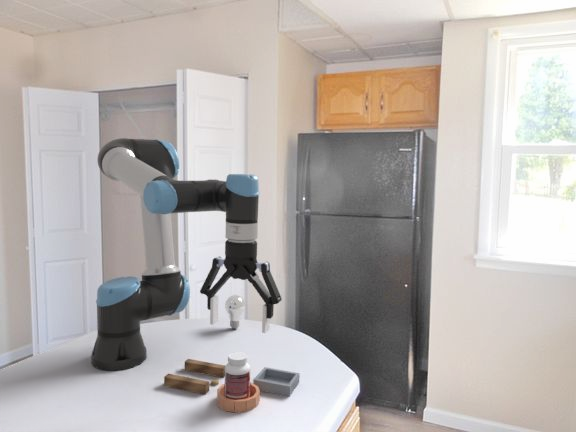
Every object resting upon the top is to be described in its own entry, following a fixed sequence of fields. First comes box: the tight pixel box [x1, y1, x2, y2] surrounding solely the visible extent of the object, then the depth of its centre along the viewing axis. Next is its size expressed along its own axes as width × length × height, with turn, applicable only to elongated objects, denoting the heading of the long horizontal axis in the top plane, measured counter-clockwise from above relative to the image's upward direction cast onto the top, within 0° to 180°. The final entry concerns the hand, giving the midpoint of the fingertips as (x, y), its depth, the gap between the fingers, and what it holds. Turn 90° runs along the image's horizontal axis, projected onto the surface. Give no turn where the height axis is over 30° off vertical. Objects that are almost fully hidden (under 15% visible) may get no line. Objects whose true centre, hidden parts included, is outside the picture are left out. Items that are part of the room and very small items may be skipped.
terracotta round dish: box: [216, 381, 261, 413], centre depth 115 cm, size 10×10×3 cm
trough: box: [252, 366, 301, 397], centre depth 123 cm, size 10×8×3 cm
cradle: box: [163, 358, 226, 395], centre depth 125 cm, size 12×12×2 cm
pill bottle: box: [224, 351, 251, 400], centre depth 114 cm, size 6×6×11 cm
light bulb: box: [224, 294, 246, 330], centre depth 163 cm, size 7×7×12 cm
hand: (239, 326), depth 113 cm, fingers open, 13 cm apart
